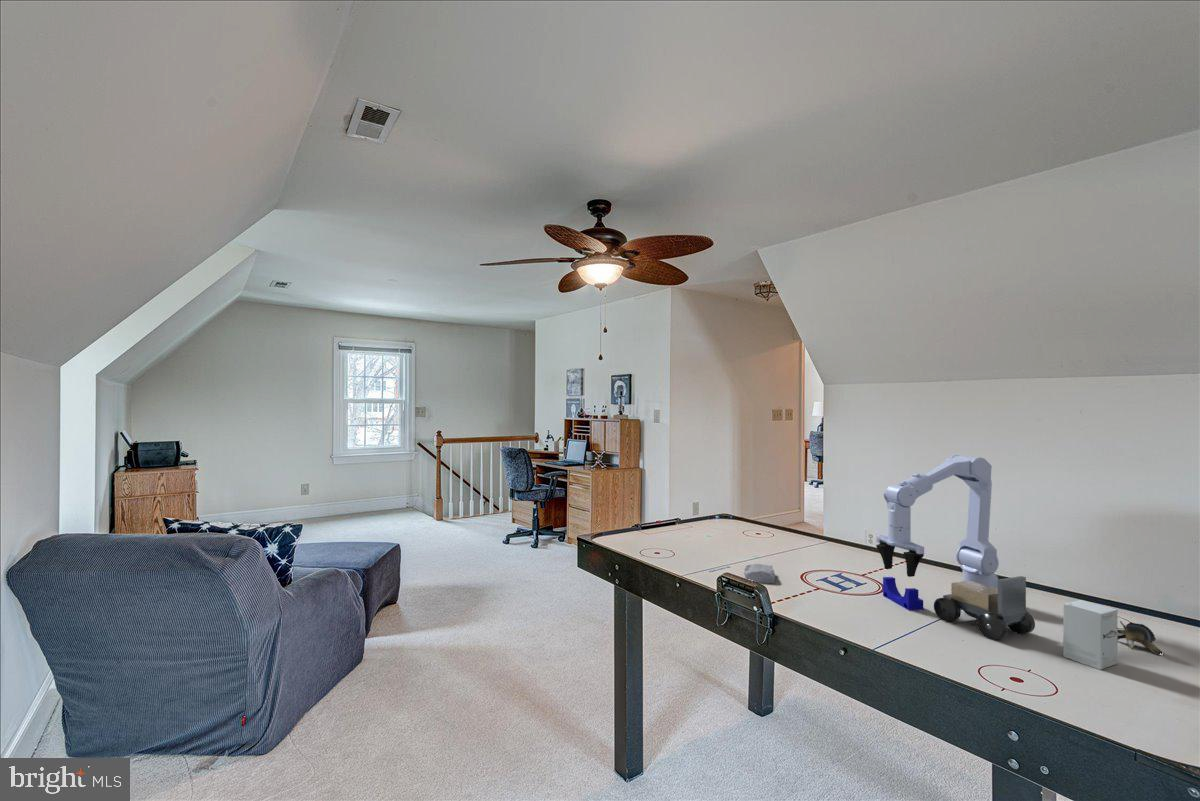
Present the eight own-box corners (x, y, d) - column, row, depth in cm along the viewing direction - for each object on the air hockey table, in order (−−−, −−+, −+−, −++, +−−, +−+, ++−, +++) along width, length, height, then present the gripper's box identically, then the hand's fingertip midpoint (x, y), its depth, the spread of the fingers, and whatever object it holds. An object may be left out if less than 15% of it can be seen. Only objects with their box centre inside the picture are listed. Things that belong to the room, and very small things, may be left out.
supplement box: (1101, 670, 119) (1101, 614, 119) (1062, 656, 126) (1061, 602, 126) (1119, 664, 122) (1118, 609, 122) (1079, 651, 129) (1079, 598, 129)
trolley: (966, 611, 154) (966, 558, 154) (1035, 636, 137) (1035, 577, 137) (933, 616, 150) (933, 562, 150) (1000, 643, 133) (1000, 582, 133)
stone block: (747, 587, 178) (777, 584, 176) (744, 573, 179) (774, 569, 177) (744, 578, 190) (773, 574, 188) (742, 564, 190) (770, 560, 188)
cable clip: (923, 610, 155) (923, 589, 155) (908, 611, 154) (908, 590, 154) (896, 596, 167) (896, 576, 167) (882, 596, 166) (883, 577, 166)
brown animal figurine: (1105, 640, 132) (1155, 648, 125) (1105, 612, 135) (1154, 617, 128) (1119, 652, 135) (1168, 660, 127) (1119, 625, 138) (1167, 631, 130)
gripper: (868, 522, 163) (868, 566, 163) (911, 532, 150) (911, 581, 149) (886, 520, 166) (886, 564, 165) (929, 530, 152) (929, 578, 152)
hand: (899, 572), depth 158 cm, fingers open, 7 cm apart
